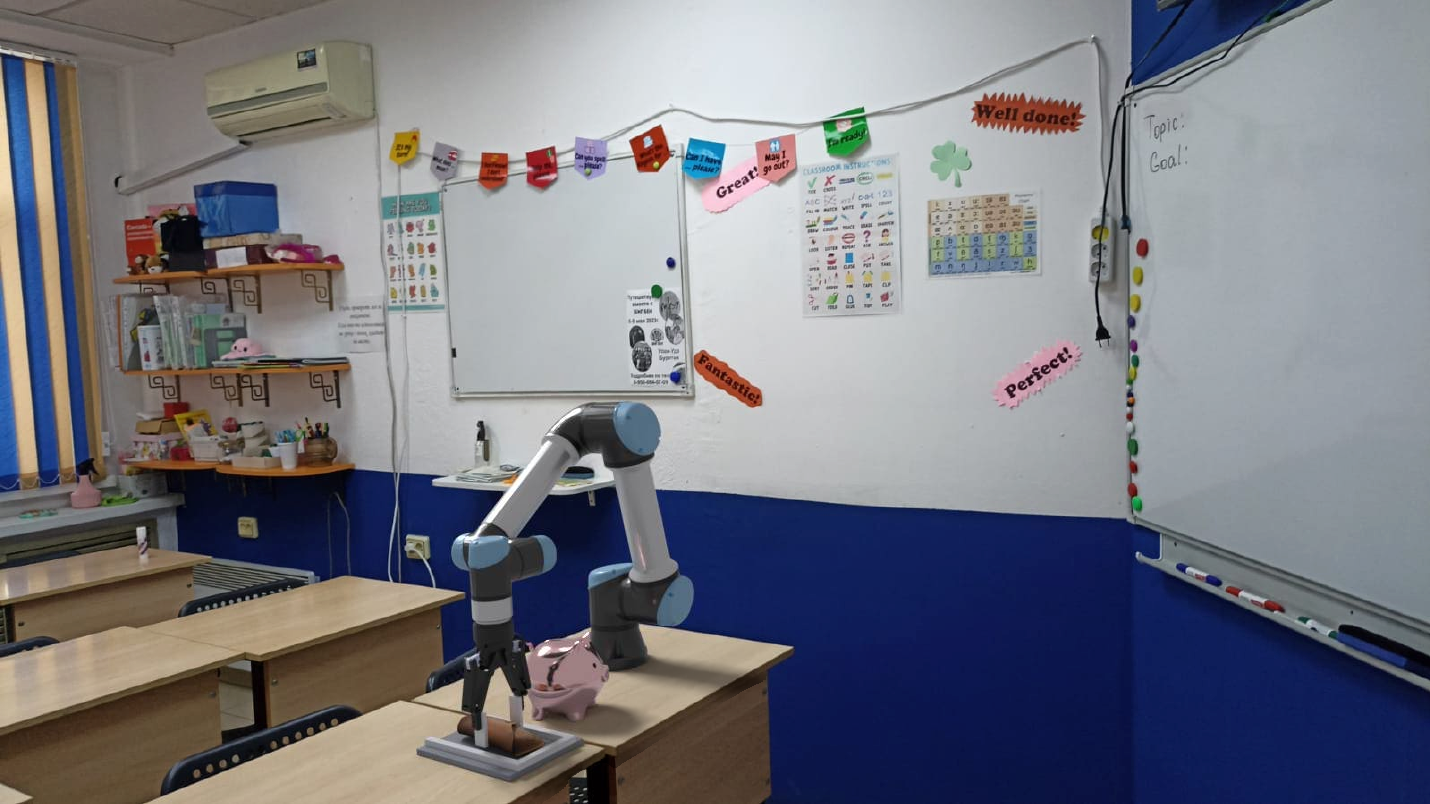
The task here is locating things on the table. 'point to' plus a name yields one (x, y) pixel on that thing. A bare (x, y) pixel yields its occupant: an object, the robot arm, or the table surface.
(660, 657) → the table surface
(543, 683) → the piggy bank
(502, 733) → the sunglasses case
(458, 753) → the rail cradle
